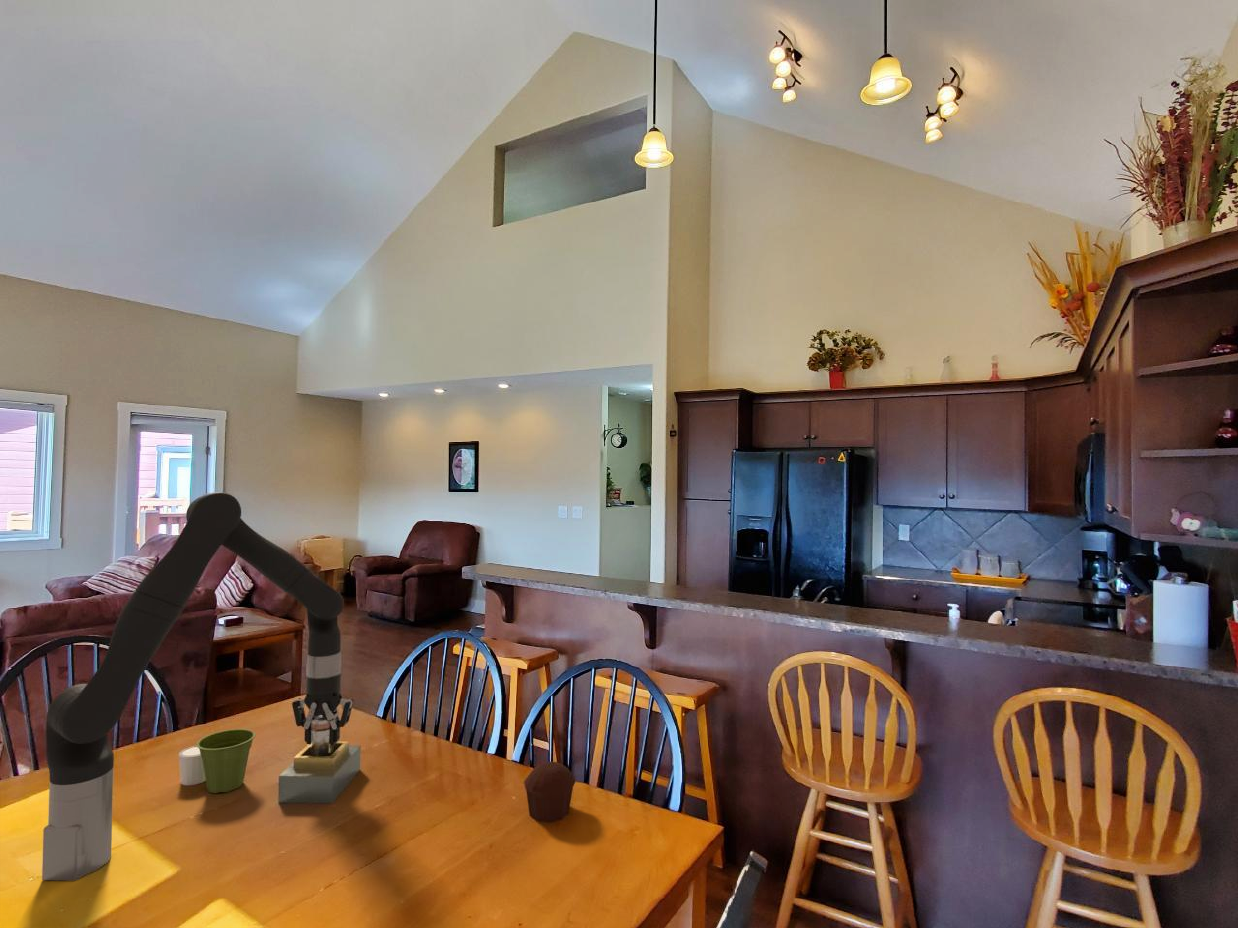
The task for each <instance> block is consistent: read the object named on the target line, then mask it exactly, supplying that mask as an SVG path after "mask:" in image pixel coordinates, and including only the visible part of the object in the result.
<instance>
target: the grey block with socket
mask: <svg viewBox="0 0 1238 928" xmlns="http://www.w3.org/2000/svg"><path fill="white" fill-rule="evenodd" d="M361 747H362V746H361V745H352V744H351V745H350V741H343V740H342V741H341V740H338V741H337V743H336V744H335V745H334V750H333V751H332V752H331V753H329V754H327V755H322V756H313V755H311V754H310V748H311V744H310V745H307V744H306V746H305V747H304V748H302V749H301V750H300V751H299V752H298V753H297V754H296V755H295V756H294V757H293V762H292V763H291V764H290V765H289V766H288V767H287V768H286V769H285V770H283V772H281V773H280V774H279V775H278V790H277V791H278V799H277V800H278V802H277V803H280V804H333V803H334V802H335V800H336V799H337V798H338V796H340V795H341V793H342V792H343V791H344V790H345V789H346V787H347V786H348V785H349V784H350V783H351V781H352V780H353V779H354V778H355V777H356V776H357V774H358V773H359V772H360V770H361V755H362V754H361V750H362V749H361Z"/></svg>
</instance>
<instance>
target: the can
mask: <svg viewBox="0 0 1238 928" xmlns="http://www.w3.org/2000/svg"><path fill="white" fill-rule="evenodd" d="M331 729H332V727H331V724H330V721H328V719H327V716H323V715H319V716H316V717H314V718H313V719H312V720H311V748H310V754H311V755H313V756H322V755H327V754H329V753H331V752H332V751H333V750H334V745H331Z"/></svg>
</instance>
